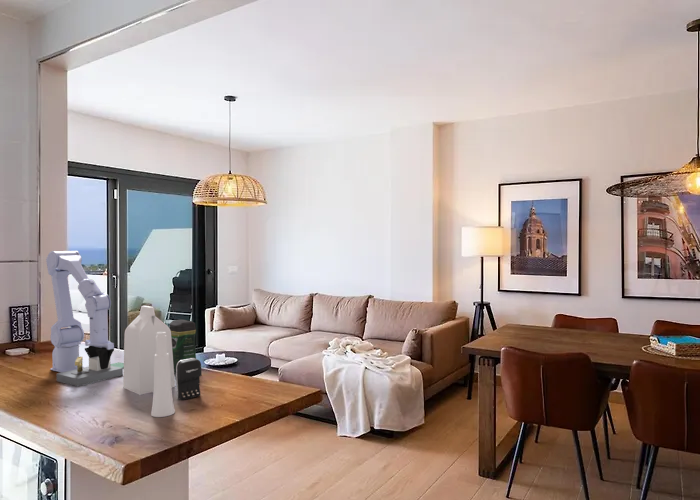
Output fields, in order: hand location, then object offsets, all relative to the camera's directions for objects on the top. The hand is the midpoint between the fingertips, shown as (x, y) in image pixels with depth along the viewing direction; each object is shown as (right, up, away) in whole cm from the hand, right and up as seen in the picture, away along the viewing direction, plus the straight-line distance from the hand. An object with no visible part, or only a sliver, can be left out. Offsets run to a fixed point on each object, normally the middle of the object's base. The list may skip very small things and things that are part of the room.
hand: (99, 367), depth 178 cm
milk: (+23, -3, -15) cm, 28 cm away
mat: (0, -3, +12) cm, 13 cm away
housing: (-2, -3, -3) cm, 4 cm away
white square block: (0, 0, 0) cm, 0 cm away
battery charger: (+40, -3, -28) cm, 49 cm away
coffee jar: (+28, -3, +4) cm, 28 cm away
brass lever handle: (-3, 0, -8) cm, 9 cm away
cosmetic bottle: (+38, -3, -41) cm, 56 cm away
